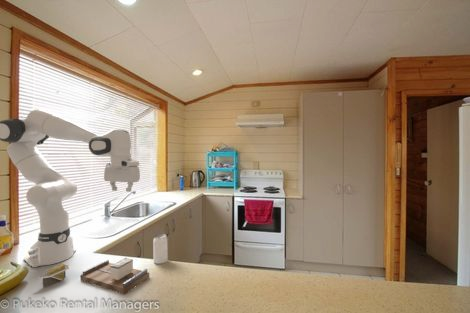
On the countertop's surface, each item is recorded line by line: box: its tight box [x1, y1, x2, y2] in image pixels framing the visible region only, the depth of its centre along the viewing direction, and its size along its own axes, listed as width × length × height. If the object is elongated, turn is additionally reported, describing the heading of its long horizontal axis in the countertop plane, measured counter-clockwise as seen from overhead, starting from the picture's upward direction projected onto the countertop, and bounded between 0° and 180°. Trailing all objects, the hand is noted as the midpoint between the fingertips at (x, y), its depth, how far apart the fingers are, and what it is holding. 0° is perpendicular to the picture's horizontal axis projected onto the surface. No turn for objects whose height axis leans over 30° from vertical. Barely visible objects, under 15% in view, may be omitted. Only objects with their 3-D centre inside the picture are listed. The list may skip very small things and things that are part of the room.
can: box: [152, 233, 169, 265], centre depth 105 cm, size 6×6×12 cm
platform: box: [38, 263, 70, 288], centre depth 88 cm, size 12×18×7 cm, turn 156°
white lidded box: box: [111, 257, 134, 280], centre depth 89 cm, size 4×7×5 cm, turn 157°
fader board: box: [80, 259, 150, 295], centre depth 90 cm, size 25×12×4 cm, turn 67°
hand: (121, 191), depth 105 cm, fingers open, 8 cm apart
